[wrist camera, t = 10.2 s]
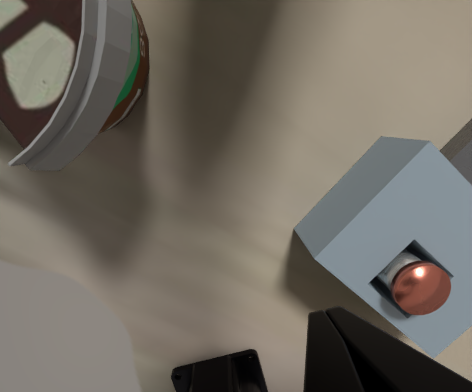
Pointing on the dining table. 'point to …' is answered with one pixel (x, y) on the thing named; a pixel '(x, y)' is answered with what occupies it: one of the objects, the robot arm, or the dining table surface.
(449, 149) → the rail
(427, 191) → the cabinet
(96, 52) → the food container
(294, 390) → the dining table surface
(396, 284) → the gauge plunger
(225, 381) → the robot arm
